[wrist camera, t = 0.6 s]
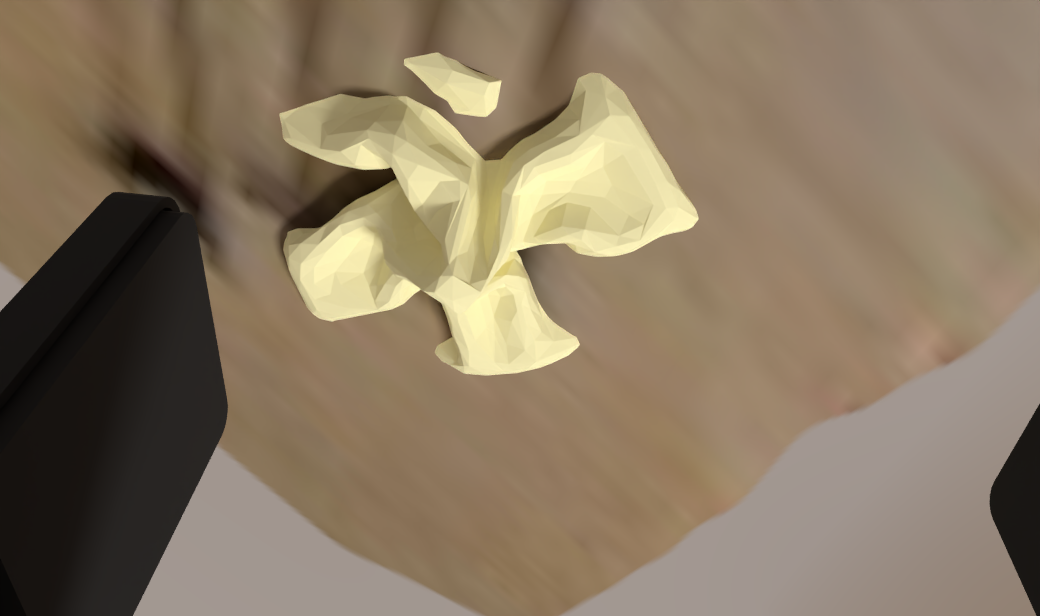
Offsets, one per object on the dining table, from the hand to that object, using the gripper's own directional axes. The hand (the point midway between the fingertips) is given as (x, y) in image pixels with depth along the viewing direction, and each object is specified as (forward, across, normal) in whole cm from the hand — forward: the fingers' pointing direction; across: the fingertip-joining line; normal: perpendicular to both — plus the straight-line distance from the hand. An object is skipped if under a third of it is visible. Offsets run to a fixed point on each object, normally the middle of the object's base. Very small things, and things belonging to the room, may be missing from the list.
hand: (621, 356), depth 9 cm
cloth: (+29, +6, +15) cm, 33 cm away
